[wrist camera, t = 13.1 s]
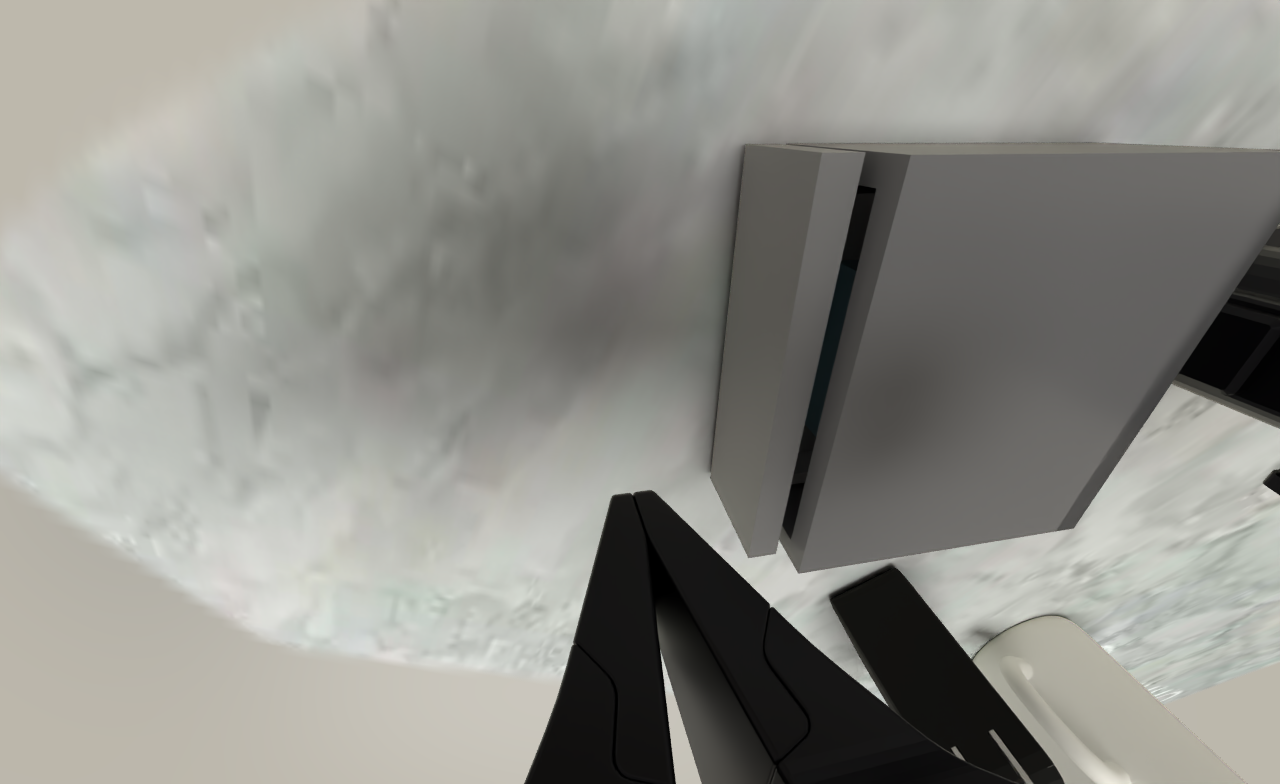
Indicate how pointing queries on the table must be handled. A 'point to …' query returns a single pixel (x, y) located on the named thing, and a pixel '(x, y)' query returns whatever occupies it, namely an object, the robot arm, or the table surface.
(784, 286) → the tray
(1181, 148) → the grey drawer box
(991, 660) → the cup
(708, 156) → the table surface
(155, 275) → the table surface
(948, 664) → the electronic device
